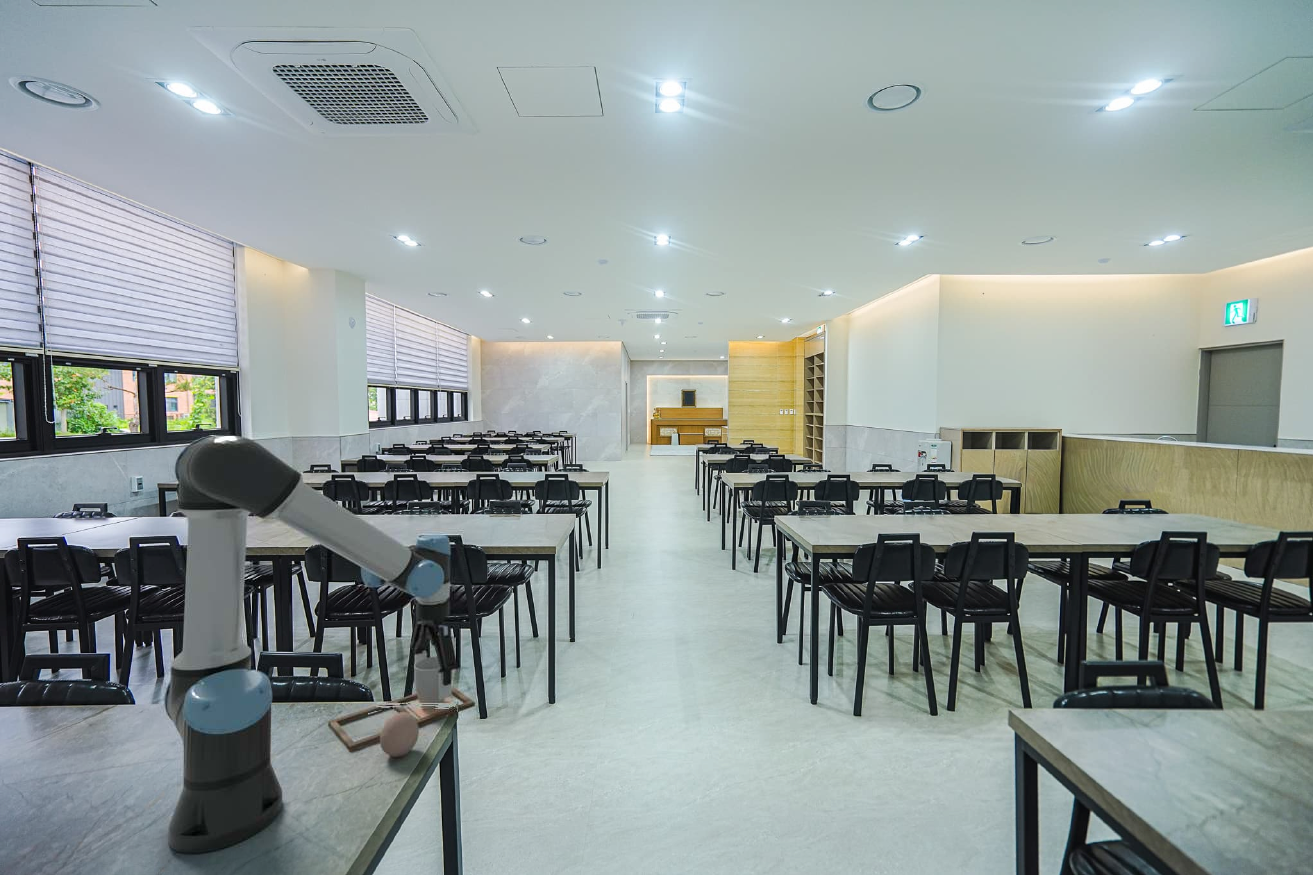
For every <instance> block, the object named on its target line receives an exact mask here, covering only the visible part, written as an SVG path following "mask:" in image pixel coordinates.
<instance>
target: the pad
mask: <svg viewBox="0 0 1313 875" xmlns="http://www.w3.org/2000/svg"><path fill="white" fill-rule="evenodd" d="M451 702H455V701H454V700H453V699H451V697H448V698H445V700H444V703H451ZM411 703H419V700H418V699H417V700H414V701H411ZM452 707H454V706H452ZM452 707H450V708H452ZM417 708H421V707H407V709H409V710H410V711H411V712H412V713H413V712H414V713H413V714H415V715H416V716H417V717H418V719H421V718H424V717H426V716H429V715H432V714H435V713H438V712H441V711H443V710H446V709H430V710H426V709H422V708H421V709H417ZM445 708H449V707H445Z"/></svg>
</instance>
